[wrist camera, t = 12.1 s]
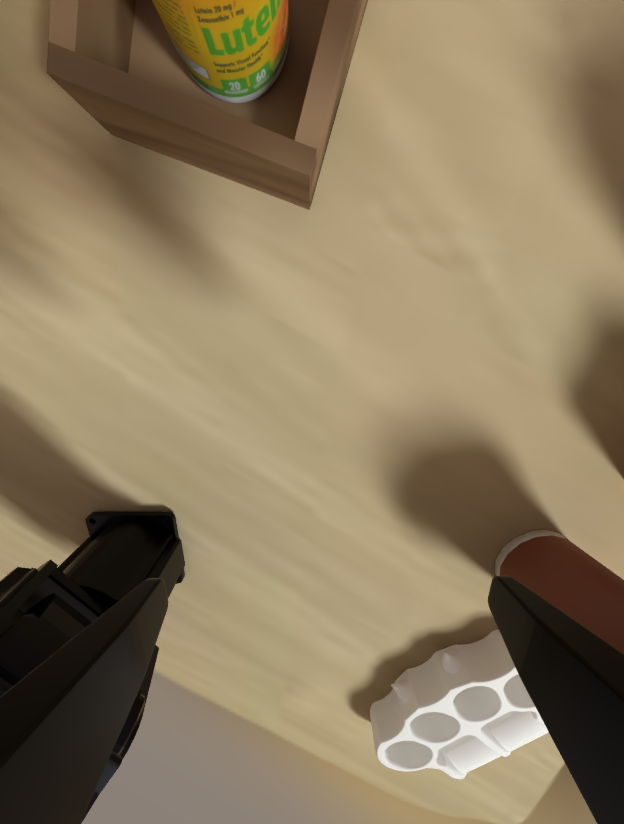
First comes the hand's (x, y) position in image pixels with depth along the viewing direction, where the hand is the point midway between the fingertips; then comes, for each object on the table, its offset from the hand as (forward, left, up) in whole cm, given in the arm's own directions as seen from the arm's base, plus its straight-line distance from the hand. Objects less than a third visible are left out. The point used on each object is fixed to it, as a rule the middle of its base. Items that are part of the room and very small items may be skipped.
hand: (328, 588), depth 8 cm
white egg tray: (+14, -28, -14) cm, 34 cm away
